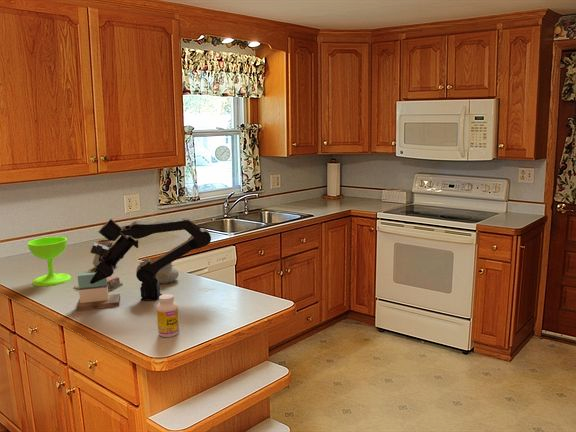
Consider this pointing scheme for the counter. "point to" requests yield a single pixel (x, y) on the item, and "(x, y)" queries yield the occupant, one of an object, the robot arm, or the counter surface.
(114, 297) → the brown flat block
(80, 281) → the mint green pillar
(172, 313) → the supplement bottle
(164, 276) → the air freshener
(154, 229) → the robot arm
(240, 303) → the counter surface
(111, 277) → the packaged product
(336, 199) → the counter surface
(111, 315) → the counter surface
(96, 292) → the beige rectangular block
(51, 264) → the wineglass
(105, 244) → the coffee pot
